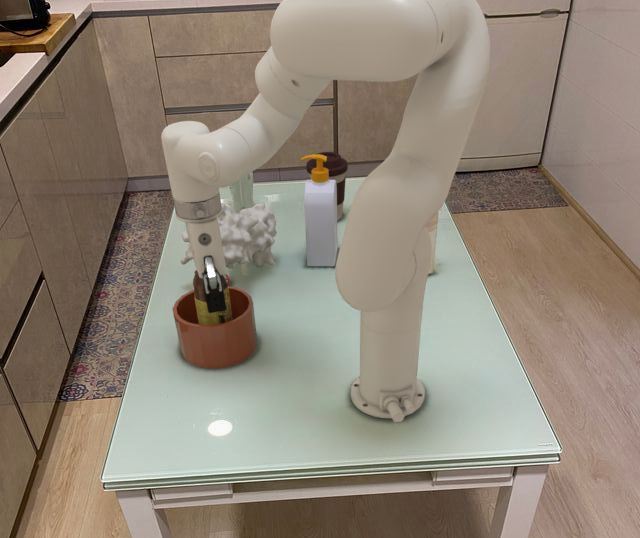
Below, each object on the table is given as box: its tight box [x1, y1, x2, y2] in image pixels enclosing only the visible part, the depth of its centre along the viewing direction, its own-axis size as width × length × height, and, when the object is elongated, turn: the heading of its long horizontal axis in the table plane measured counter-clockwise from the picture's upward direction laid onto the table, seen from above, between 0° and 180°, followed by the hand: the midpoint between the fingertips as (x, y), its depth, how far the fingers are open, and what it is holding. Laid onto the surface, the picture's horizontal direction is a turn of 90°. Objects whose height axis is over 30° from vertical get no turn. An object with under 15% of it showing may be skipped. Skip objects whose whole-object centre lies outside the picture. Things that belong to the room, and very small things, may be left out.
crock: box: [172, 285, 258, 370], centre depth 125 cm, size 14×14×9 cm
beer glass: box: [228, 170, 256, 214], centre depth 169 cm, size 7×7×15 cm
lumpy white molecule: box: [180, 202, 278, 286], centre depth 142 cm, size 20×18×25 cm
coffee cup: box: [306, 151, 349, 221], centre depth 165 cm, size 10×10×15 cm
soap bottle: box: [300, 153, 339, 267], centre depth 145 cm, size 9×7×23 cm
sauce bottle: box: [192, 259, 233, 325], centre depth 120 cm, size 7×6×20 cm
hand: (214, 297), depth 120 cm, fingers open, 9 cm apart
